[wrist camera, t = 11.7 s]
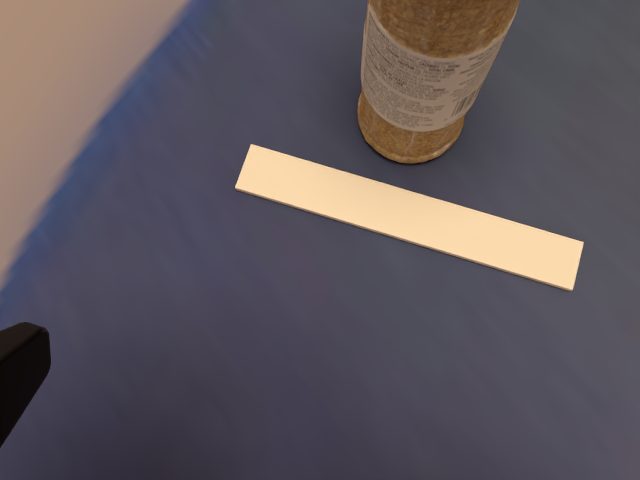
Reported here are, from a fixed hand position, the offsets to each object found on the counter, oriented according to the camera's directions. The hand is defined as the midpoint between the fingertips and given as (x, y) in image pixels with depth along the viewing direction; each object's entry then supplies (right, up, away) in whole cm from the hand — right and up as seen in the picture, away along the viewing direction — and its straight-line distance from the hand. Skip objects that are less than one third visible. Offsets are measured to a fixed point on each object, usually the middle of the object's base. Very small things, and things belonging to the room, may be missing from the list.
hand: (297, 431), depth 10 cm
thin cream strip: (+4, +4, +15) cm, 16 cm away
